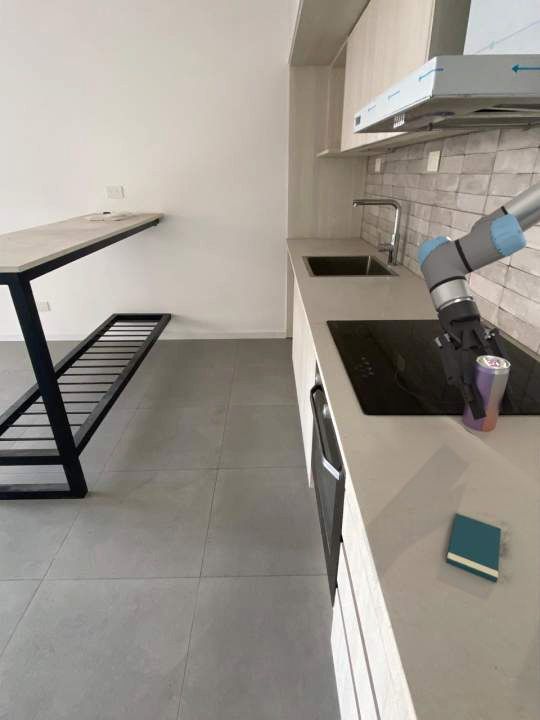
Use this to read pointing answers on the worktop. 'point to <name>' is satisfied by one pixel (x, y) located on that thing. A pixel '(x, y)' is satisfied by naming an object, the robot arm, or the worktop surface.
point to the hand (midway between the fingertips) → (495, 415)
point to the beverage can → (487, 391)
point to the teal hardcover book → (475, 547)
